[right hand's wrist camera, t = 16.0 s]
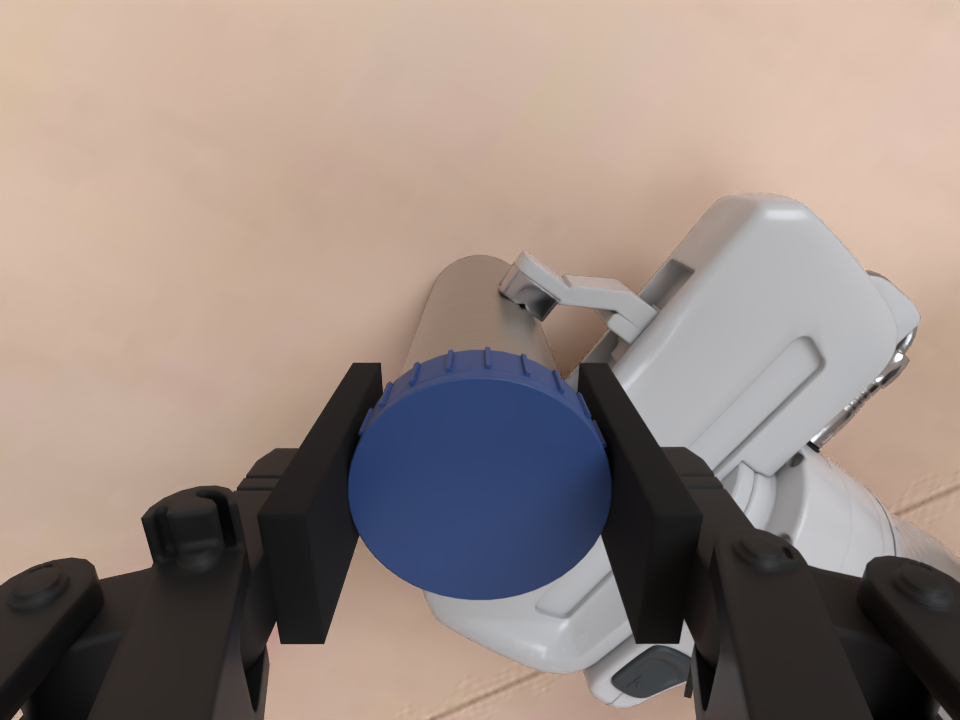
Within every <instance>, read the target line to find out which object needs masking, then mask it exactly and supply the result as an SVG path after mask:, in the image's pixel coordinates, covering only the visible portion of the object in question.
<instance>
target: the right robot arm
mask: <svg viewBox="0 0 960 720" xmlns="http://www.w3.org/2000/svg"><path fill="white" fill-rule="evenodd" d="M579 392H580V393H581V394H582V396H583V398H584V401H585V403H586V405H587V408H588V410H589V412H590V414H591V420H592V421H593V420H596V422H597V425H598V427H599V429H600V431H601V433H602V436H603V438H604V440H605V442H606V445H607V447H606V448H604V450H605V453H606V455H607V458H608V460H609V465H610V469H611V474H612V499H611V507H610V511H609V515H608V519H607V521H606V524H605V526H604V528H603V531H602V533H601V537H602V541H603V544H604V547H605V550H606V553H607V556H608V559H609V562H610V565H611V568H612V571H613V575H614V578H615V581H616V584H617V587H618V590H619V593H620V596H621V599H622V602H623V605H624V608H625V612H626V615H627V618H628V621H629V624H630V627H631V630H632V633H633V636H634V639H635V642H636V644H679V643H680V638H681V632H682V627H683V622H684V620H685V622H686V624H687V627H688V629H689V631H690V633H691V635H692V638H693V640H694V647H693V652H692V657H691V661H690V666H689V671H688V676H687V681H686V687H685V694H684V697H688V698H691V696H692V691H693V692H694V701H695V711H696V720H943V719H942V717H941V716H940V715H939V714H938V711H939V708H940V706H942V708H943V709H944V710H945V711H946V713H947V714H948V715H949V716H950V718H951V719H952V720H960V583H959V582H958V581H957V580H955V579H954V578H953V577H951V576H950V575H948V574H946V573H944V572H942V571H940V570H938V569H936V568H934V567H932V566H930V565H928V564H925V563H923V562H918V561H916V560H913V559H909V558H904V557H897V556H890V555H888V556H880V557H874V558H873V559H872V560H871V561H869V562H868V563H867V564H866V567H865V570H864V573H863V576H862V578H861V577H857V576H852V575H847V574H843V573H838V572H834V571H829V570H825V569H820V568H817V567H813V566H810V565H808V564H807V562H806V560H805V559H804V557H803V556H802V555H801V553H800V552H799V550H797V549H796V548H795V547H794V546H792V545H791V544H790V543H789V542H787V541H786V540H785V539H782V538H780V537H778V536H776V535H774V534H772V533H770V532H768V531H764V530H760V529H757V528H755V527H754V526H753V525H752V523H751V522H750V521H749V519H748V518H747V517H746V515H745V514H744V513H743V511H742V510H741V509H740V507H739V506H738V505H737V503H736V502H735V501H734V499H733V498H732V497H731V495H730V494H729V493H728V491H727V490H726V489H724V488H723V485H722V483H721V482H720V481H719V479H718V478H717V477H714V473H713V471H712V470H711V469H710V467H709V466H708V465H707V463H706V462H705V461H704V459H702V458H701V457H699V456H698V455H696V454H695V453H693V452H692V451H690V450H689V449H687V448H686V447H660V446H659V444H658V443H657V441H656V440H655V438H654V436H653V435H652V433H651V432H650V430H649V429H648V427H647V425H646V424H645V422H644V421H643V419H642V417H641V416H640V414H639V413H638V411H637V410H636V408H635V406H634V405H633V403H632V402H631V400H630V399H629V397H628V395H627V394H626V392H625V391H624V389H623V387H622V386H621V384H620V383H619V381H618V380H617V378H616V376H615V375H614V373H613V372H612V370H611V369H610V367H609V365H608V364H607V363H579V374H578V388H577V393H579ZM382 395H383V387H382V373H381V363H353V364H352V365H351V367H350V369H349V370H348V372H347V373H346V375H345V377H344V378H343V380H342V381H341V383H340V384H339V386H338V388H337V389H336V391H335V392H334V394H333V395H332V397H331V399H330V400H329V402H328V403H327V405H326V407H325V408H324V410H323V411H322V413H321V414H320V416H319V418H318V419H317V421H316V422H315V424H314V426H313V427H312V429H311V430H310V432H309V433H308V435H307V437H306V438H305V440H304V441H303V443H302V444H301V446H300V448H276V449H274V450H273V451H271V452H270V453H268V454H267V455H265V456H264V457H262V458H261V459H259V460H258V461H257V462H256V463H255V464H254V466H253V467H252V468H251V470H250V471H249V472H248V474H247V475H246V478H244V479H243V480H242V482H241V483H240V484H239V486H238V487H237V491H234V492H232V491H231V490H230V489H229V488H224V487H220V486H199V487H194V488H190V489H186V490H182V491H179V492H177V493H175V494H172V495H170V496H168V497H165V498H163V499H162V500H160V501H159V502H157V503H156V504H155V505H153V506H152V507H150V508H149V509H148V511H147V512H146V513H145V514H144V515H143V517H142V518H141V520H142V524H143V527H144V531H145V534H146V538H147V541H148V545H149V548H150V552H151V555H152V559H153V562H154V563H153V565H152V567H151V568H148V569H144V570H141V571H137V572H132V573H127V574H123V575H118V576H114V577H109V578H105V579H100V580H99V579H98V576H97V573H96V570H95V567H94V565H93V564H91V563H90V562H89V561H87V560H86V559H79V558H65V559H58V560H52V561H49V562H46V563H43V564H39V565H36V566H34V567H31V568H29V569H28V570H26V571H24V572H22V573H20V574H18V575H16V576H14V577H12V578H10V579H9V580H8V581H6V582H5V583H3V584H2V585H1V586H0V720H11V719H12V718H13V717H14V715H15V714H16V713H17V712H18V710H19V709H20V708H21V710H22V712H23V716H22V717H21V718H20V719H19V720H264V712H265V703H266V693H267V684H268V674H269V658H268V652H267V647H266V643H267V641H268V638H269V636H270V634H271V632H272V629H273V627H274V625H275V623H276V621H277V626H278V632H279V637H280V643H281V644H324V643H325V640H326V637H327V633H328V630H329V627H330V624H331V621H332V618H333V615H334V612H335V609H336V606H337V603H338V600H339V596H340V593H341V590H342V587H343V584H344V581H345V578H346V575H347V572H348V569H349V566H350V562H351V559H352V556H353V553H354V550H355V547H356V544H357V541H358V538H359V533H358V531H357V529H356V526H355V524H354V522H353V519H352V515H351V511H350V508H349V499H348V474H349V469H350V464H351V460H352V458H353V455H354V452H355V450H356V447H357V445H358V442H359V440H360V438H361V436H360V435H358V433H359V430H360V428H361V426H362V424H363V422H364V419H365V417H366V415H367V413H368V410H369V409H370V408H371V409H374V407H375V405H376V404H377V402H378V400H379V399H380V398H381V396H382Z"/></svg>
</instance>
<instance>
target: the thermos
mask: <svg viewBox="0 0 960 720" xmlns="http://www.w3.org/2000/svg"><path fill="white" fill-rule="evenodd" d="M510 267H511V266H510V265H509V264H508V263H506V262H504V261H502V260H500V259H498V258H495V257H491V256H484V255H475V256H469V257H465V258H462V259H460V260H457V261H455V262H454V263H452V264H451V265H449V266H448V267H447V268H446V269H444V271H443V272H442V273H441V274H440V275H439V277H438V278H437V280H436V282H435V284H434V286H433V288H432V291H431V294H430V296H429V299H428V302H427V304H426V307H425V309H424V312H423V315H422V317H421V320H420V323H419V325H418V328H417V331H416V333H415V336H414V339H413V341H412V344H411V347H410V349H409V352H408V355H407V357H406V360H405V363H404V365H403V368H402V371H401V373H400V376H399V377H401V376H402V375H403V374H405V373H406V372H407V371H409V370H410V369H412V368H413V366H414V363H416V362H419V363H420V364H421V363H423V362H425V361H428V360H430V359H433V358H435V357H438V356H441V355H445V354H448V350H452V349H453V352H458V351H466V350H485V347H490V350H494V351H502V352H507V353H511V354H515V355H519V356H521V354H522V353H523V354H526V355H527V359H530V360H533V361H535V362H537V363H539V364H541V365H543V366H544V367H546V368H548V369H550V370H551V371H553V370H554V369H555V370H557V371H558V368H557V366H556V363H555V360H554V358H553V355H552V352H551V350H550V347H549V344H548V342H547V339H546V336H545V334H544V331H543V329H542V326H541V323H540V321H539V319H537V318H536V317H534V316H533V315H531V314H530V313H529V312H528V311H527V310H526V308H525V305H524V304H517V303H515V302H513V301H512V300H510V299H509V298H508V297H507V296H505V295H504V294H503V293H502V292H501V291H500V285H499V283H500V281H501V280H502V278H503V277H504V276H505V274H506V273H507V271H508V270H509V269H510ZM558 373H559V371H558ZM559 375H560V373H559ZM560 377H561V376H560Z"/></svg>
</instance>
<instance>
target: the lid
mask: <svg viewBox="0 0 960 720" xmlns="http://www.w3.org/2000/svg"><path fill="white" fill-rule="evenodd" d="M358 435H360V436H361V438H360V440H359V442H358V445H357V447H356V450H355V452H354V455H353V458H352V460H351V464H350V469H349V474H348V499H349V508H350V511H351V515H352V519H353V522H354V524H355V526H356V529H357V531H358V533H359V535H360V537H361V538H362V540H363V542H364V543H365V545H366V546H367V548H368V549H369V550H370V551H371V552H372V554H373V555H374V556H375V557H376V558H377V559H378V560H379V561H380V562H381V563H382V564H383V565H384V566H385V567H386V568H387V569H389V570H390V571H391V572H393V573H394V574H395V575H397V576H398V577H400V578H401V579H403V580H405V581H407V582H408V583H410V584H412V585H414V586H416V587H419V588H421V589H423V590H426V591H428V592H432V593H435V594H438V595H441V596H446V597H451V598H456V599H466V600H494V599H504V598H509V597H513V596H518V595H522V594H525V593H528V592H531V591H534V590H537V589H539V588H541V587H543V586H546V585H548V584H550V583H551V582H553V581H555V580H557V579H558V578H560V577H562V576H563V575H564V574H566V573H567V572H568V571H570V570H571V569H572V568H574V567H575V566H576V565H577V564H578V563H579V562H580V561H581V560H582V559H583V558H584V557H585V556H586V555H587V554H588V552H589V551H590V550H591V549H592V547H593V546H594V545H595V543H596V541H597V540H598V538H599V536H600V535H601V533H602V531H603V528H604V526H605V524H606V521H607V519H608V515H609V511H610V507H611V499H612V474H611V469H610V465H609V460H608V458H607V455H606V453H605V450H604V448H606V447H607V445H606V442H605V440H604V438H603V436H602V433H601V431H600V429H599V427H598V425H597V422H596V420H593V421H592V420H591V414H590V412H589V410H588V408H587V405H586V403H585V401H584V398H583V396H582V394H581V393H580V392H579V393H577V394H576V393H575V391H574V390H573V389H572V388H571V387H570V386H569V385H568V384H567V383H566V382H565V381H564V380H563V379H562V378H561V377H560V375H559V373H558V371H557V370H555V369H554V370H553V371H551V370H550V369H548V368H546V367H544V366H543V365H541V364H539V363H537V362H535V361H533V360H530V359H527V355H526V354H523V353H522V354H521V356H519V355H515V354H511V353H507V352H502V351H494V350H490V347H485V350H466V351H458V352H453V349H452V350H448V354H445V355H441V356H438V357H435V358H433V359H430V360H428V361H425V362H423V363H421V364H420V363H419V362H416V363H414V366H413V368H412V369H410V370H409V371H407V372H406V373H405V374H403V375H402V376H401V377H399V378H398V379H397V380H396V381H395V382H394V383H393V384H392V383H391V382H389V383H388V384H387V385H386V388H385V390H384V392H383V395H382V396H381V398H380V399H379V400H378V402H377V404H376V405H375V407H374V409H371V408H370V409H369V410H368V413H367V415H366V417H365V419H364V422H363V424H362V426H361V428H360V430H359V433H358Z"/></svg>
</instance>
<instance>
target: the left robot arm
mask: <svg viewBox="0 0 960 720" xmlns="http://www.w3.org/2000/svg"><path fill="white" fill-rule="evenodd" d="M499 285H500V291H501V292H502V293H503V294H504V295H505V296H507V297H508V298H509V299H510V300H512V301H513V302H515V303H517V304H524V305H525V308H526V310H527V311H528V312H529V313H530V314H531V315H533V316H534V317H536V318H537V319H539V320H540V321H541V322H542V321H543V320H544V319H545V318H546V317H547V315H548V314H549V313H550V312H551V311H552V309H553V308H554V307H555V306H556V305H557V303H558V304H559V305H568V306H577V307H586V308H594V311H595V312H596V313H597V314H598V316H599V317H600V318H601V319H602V321H603V322H604V323H605V325H606V326H607V327H608V328H609V329H608V330H607V331H606V332H605V333H604V335H603V336H602V337H601V338H600V339H599V341H598V342H597V343H596V344H595V345H594V346H593V348H592V349H591V350H590V351H589V352H588V354H587V355H586V356H585V357H584V358H583V360H582V361H581V362H580V363H607V364H608V365H609V367H610V369H611V370H612V372H613V373H614V375H615V376H616V378H617V380H618V381H619V383H620V384H621V386H622V387H623V389H624V391H625V392H626V394H627V395H628V397H629V399H630V400H631V402H632V403H633V405H634V406H635V408H636V410H637V411H638V413H639V414H640V416H641V417H642V419H643V421H644V422H645V424H646V425H647V427H648V429H649V430H650V432H651V433H652V435H653V436H654V438H655V440H656V441H657V443H658V444H659V446H660V447H686V448H687V449H689V450H690V451H692V452H693V453H695V454H696V455H698V456H699V457H701V458H702V459H704V461H705V462H706V463H707V465H708V466H709V467H710V469H711V470H712V471H713V473H714V477H717V478H718V479H719V481H720V482H721V483H722V485H723V488H724V489H726V490H727V491H728V493H729V494H730V495H731V497H732V498H733V499H734V501H735V502H736V503H737V505H738V506H739V507H740V509H741V510H742V511H743V513H744V514H745V515H746V517H747V518H748V519H749V521H750V522H751V523H752V525H753V526H754V527H755V528H757V529H760V530H764V531H768V532H770V533H772V534H774V535H776V536H778V537H780V538H782V539H785V540H786V541H787V542H789V543H790V544H791V545H792V546H794V547H795V548H796V549H797V550H799V552H800V553H801V555H802V556H803V557H804V559H805V560H806V562H807V564H808V565H810V566H813V567H817V568H820V569H825V570H829V571H834V572H838V573H843V574H847V575H852V576H857V577H861V578H862V576H863V573H864V570H865V567H866V564H867V563H868V562H869V561H871V560H872V559H873V558H874V557H880V556H888V555H890V556H897V557H904V558H909V559H913V560H916V561H918V562H923V563H925V564H928V565H930V566H932V567H934V568H936V569H938V570H940V571H942V572H944V573H946V574H948V575H950V576H951V577H953V578H954V579H955V580H957V581H958V582H959V583H960V557H958V556H957V555H956V554H955V553H953V552H952V551H951V550H950V549H949V548H947V547H946V546H945V545H943V544H942V543H941V542H939V541H938V540H937V539H935V538H934V537H933V536H932V535H930V534H929V533H927V532H926V531H924V530H923V529H921V528H920V527H918V526H916V525H915V524H913V523H911V522H909V521H907V520H905V519H902V518H900V517H898V516H895V515H893V514H890V513H889V511H888V510H887V508H886V507H885V506H884V505H883V503H882V502H881V501H880V500H879V499H878V498H877V497H876V496H875V495H874V494H873V493H872V492H871V491H870V490H869V489H868V488H867V487H866V486H864V485H863V484H862V483H861V482H859V481H858V480H856V479H855V478H854V477H852V476H851V475H850V474H848V473H847V472H846V471H844V470H843V469H842V468H840V467H839V466H838V465H836V464H835V463H834V462H832V461H831V460H830V459H828V458H827V457H825V456H824V455H823V454H821V453H820V451H819V449H820V448H821V447H822V446H823V445H824V444H825V443H827V442H828V441H829V440H830V439H831V438H832V437H833V436H834V435H835V434H836V433H837V432H839V431H840V430H841V429H842V428H843V427H844V426H845V425H846V424H847V423H848V422H849V421H850V420H851V419H852V418H853V417H854V416H855V413H857V412H858V411H859V410H860V409H859V408H860V407H862V406H863V405H864V404H865V402H867V401H868V400H869V399H870V396H873V395H874V394H875V393H876V392H877V391H878V390H879V389H880V388H883V389H884V388H885V387H887V386H888V385H889V384H891V383H892V382H893V381H894V380H895V379H896V378H897V377H898V376H899V375H900V374H901V373H902V371H903V370H904V369H905V368H906V366H907V365H908V363H909V361H910V360H909V358H908V357H907V356H905V355H904V354H905V353H906V351H907V350H908V349H909V347H910V346H911V344H912V342H913V340H914V338H915V335H916V331H917V326H918V324H919V322H920V318H921V317H920V313H919V311H918V309H917V307H916V306H915V304H914V303H913V302H912V301H911V300H910V299H909V298H908V297H907V296H906V295H905V294H904V293H902V292H901V291H900V290H899V289H898V288H897V287H896V286H895V285H893V284H892V283H891V282H890V281H889V280H888V279H887V278H886V277H884V276H882V275H881V274H879V273H876V272H873V271H868V270H865V269H864V268H863V267H862V266H861V264H860V263H859V262H858V261H857V259H856V258H855V257H854V255H853V254H852V253H851V252H850V251H849V249H848V248H847V247H846V246H845V245H844V244H843V243H842V241H841V240H840V239H839V238H838V237H837V236H836V235H835V234H834V232H833V231H832V230H831V229H830V228H829V227H828V226H827V225H826V224H825V223H824V222H823V221H822V220H821V219H820V218H819V217H818V216H817V215H816V214H815V213H814V212H813V211H812V210H811V209H810V208H808V207H807V206H806V205H804V204H803V203H801V202H800V201H797V200H795V199H792V198H789V197H786V196H782V195H777V194H771V193H747V194H737V195H730V196H725V197H722V198H720V199H718V200H717V201H716V202H715V203H714V204H713V205H712V206H711V207H710V208H709V209H708V211H707V212H706V213H705V214H704V215H703V217H702V218H701V219H700V220H699V221H698V223H697V224H696V225H695V226H694V227H693V228H692V230H691V231H690V232H689V233H688V234H687V236H686V237H685V238H684V239H683V240H682V242H681V243H680V244H679V245H678V246H677V248H676V249H675V250H674V251H673V252H672V253H671V255H670V256H669V257H668V258H667V259H666V261H665V262H664V263H663V264H662V265H661V267H660V268H659V269H658V270H657V271H656V273H655V274H654V275H653V276H652V277H651V279H650V280H649V281H648V282H647V283H646V285H645V286H644V287H643V288H642V289H641V290H640V292H639V293H638V294H635V293H634V292H632V291H631V290H630V289H628V288H627V287H626V286H624V285H623V284H622V283H620V282H619V281H618V280H616V279H611V278H599V277H587V276H576V275H563V276H562V277H561V276H559V275H558V274H557V273H555V272H554V271H553V270H551V269H550V268H549V267H547V266H546V265H544V264H543V263H542V262H540V261H539V260H538V259H536V258H535V257H534V256H532V255H531V254H529V253H527V252H526V251H524V250H523V251H522V252H521V254H520V255H519V256H518V258H517V259H516V260H515V262H514V263H513V264H512V266H511V267H510V269H509V270H508V271H507V273H506V274H505V276H504V277H503V278H502V280H501V281H500V283H499ZM578 374H579V364H578V366H577V367H576V368H575V369H574V370H573V371H572V373H571V374H570V375H569V376H568V377H567V379H566V380H565V382H566V383H567V384H568V385H569V386H570V387H571V388H572V389H573V390H574V391H575V393H576V394H577V388H578ZM423 593H424V596H425V599H426V601H427V604H428V606H429V608H430V610H431V612H432V614H433V615H434V617H435V618H436V619H437V620H438V621H439V622H441V623H442V624H444V625H445V626H447V627H448V628H450V629H451V630H453V631H455V632H457V633H459V634H460V635H462V636H464V637H466V638H468V639H469V640H471V641H473V642H475V643H477V644H479V645H481V646H483V647H485V648H487V649H489V650H491V651H493V652H496V653H498V654H500V655H502V656H504V657H506V658H509V659H511V660H513V661H515V662H518V663H520V664H522V665H525V666H527V667H530V668H533V669H536V670H539V671H543V672H548V673H554V674H567V673H574V672H578V671H581V670H583V672H584V675H585V678H586V682H587V685H588V688H589V690H590V693H591V694H592V695H593V696H594V697H595V698H596V699H598V700H599V701H601V702H603V703H604V704H607V705H609V706H611V707H615V708H628V707H631V706H634V705H637V704H639V703H641V702H644V701H646V700H648V699H650V698H652V697H654V696H656V695H659V694H661V693H663V692H665V691H668V690H670V689H672V688H674V687H677V686H679V685H682V684H684V683H686V681H687V676H688V671H689V666H690V661H691V657H692V652H693V647H694V640H693V638H692V635H691V633H690V631H689V629H688V627H687V624H686V622H685V620H684V622H683V627H682V632H681V638H680V643H679V644H636V642H635V639H634V636H633V633H632V630H631V627H630V624H629V621H628V618H627V615H626V612H625V608H624V605H623V602H622V599H621V596H620V593H619V590H618V587H617V584H616V581H615V578H614V575H613V571H612V568H611V565H610V562H609V559H608V556H607V553H606V550H605V547H604V544H603V541H602V537H601V535H600V536H599V538H598V540H597V541H596V543H595V545H594V546H593V547H592V549H591V550H590V551H589V552H588V554H587V555H586V556H585V557H584V558H583V559H582V560H581V561H580V562H579V563H578V564H577V565H576V566H575V567H574V568H572V569H571V570H570V571H568V572H567V573H566V574H564V575H563V576H562V577H560V578H558V579H557V580H555V581H553V582H551V583H550V584H548V585H546V586H543V587H541V588H539V589H537V590H534V591H531V592H528V593H525V594H522V595H518V596H513V597H509V598H504V599H494V600H466V599H456V598H451V597H446V596H441V595H438V594H435V593H432V592H428V591H426V590H423ZM938 714H939V715H940V716H941V717H942V719H943V720H952V719H951V718H950V716H949V715H948V714H947V713H946V711H945V710H944V709H943V708H942V706H940V708H939V711H938Z"/></svg>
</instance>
